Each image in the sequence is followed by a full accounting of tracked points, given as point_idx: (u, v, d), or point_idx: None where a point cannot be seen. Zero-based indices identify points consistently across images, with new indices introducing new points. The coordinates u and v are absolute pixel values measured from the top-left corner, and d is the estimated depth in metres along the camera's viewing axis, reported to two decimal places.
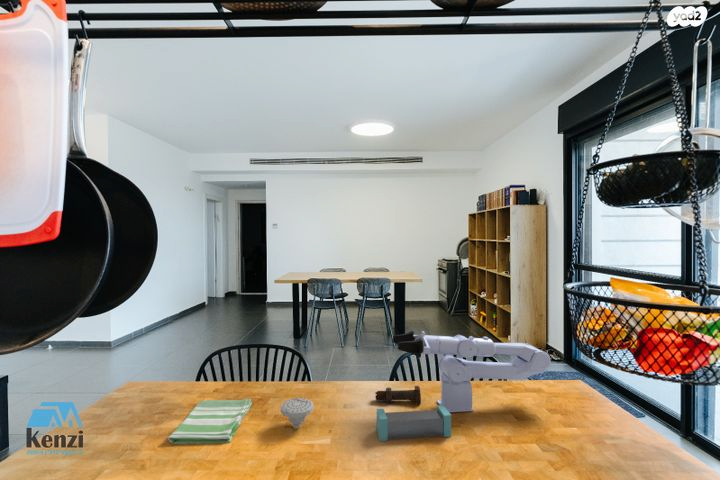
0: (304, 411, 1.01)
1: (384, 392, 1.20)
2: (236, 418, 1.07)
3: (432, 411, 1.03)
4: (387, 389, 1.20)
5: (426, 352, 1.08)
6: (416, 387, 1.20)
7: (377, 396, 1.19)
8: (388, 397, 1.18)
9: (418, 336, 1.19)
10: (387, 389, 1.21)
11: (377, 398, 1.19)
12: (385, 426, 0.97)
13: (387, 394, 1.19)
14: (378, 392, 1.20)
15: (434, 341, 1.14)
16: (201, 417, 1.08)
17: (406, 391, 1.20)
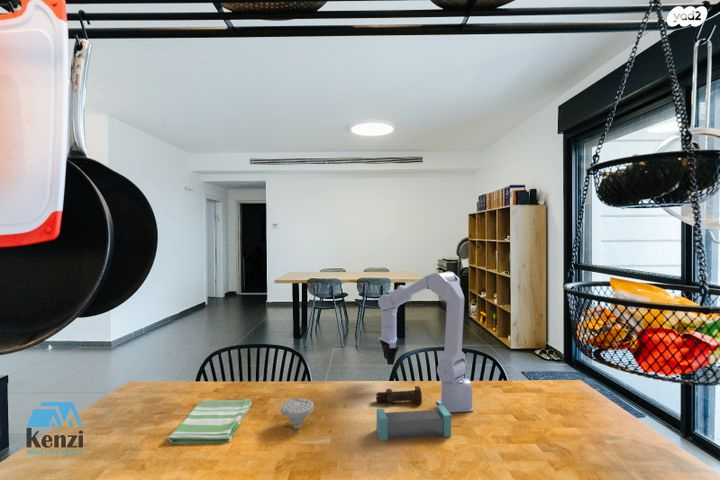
0: (304, 411, 1.01)
1: (385, 393, 1.19)
2: (236, 418, 1.06)
3: (432, 411, 1.03)
4: (388, 391, 1.19)
5: (394, 345, 1.29)
6: (417, 387, 1.20)
7: (378, 398, 1.18)
8: (389, 398, 1.18)
9: None
10: (388, 390, 1.20)
11: (378, 400, 1.18)
12: (385, 426, 0.97)
13: (388, 395, 1.18)
14: (379, 394, 1.19)
15: (385, 331, 1.33)
16: (201, 417, 1.08)
17: (407, 392, 1.20)
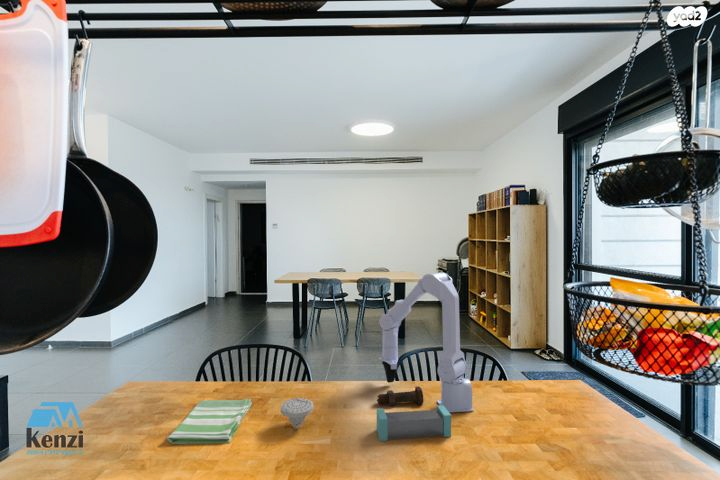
0: (304, 411, 1.01)
1: (386, 395, 1.18)
2: (236, 418, 1.06)
3: (432, 411, 1.03)
4: (389, 392, 1.18)
5: (395, 367, 1.26)
6: (417, 388, 1.20)
7: (380, 400, 1.17)
8: (391, 400, 1.16)
9: None
10: (389, 392, 1.18)
11: (380, 402, 1.17)
12: (385, 426, 0.97)
13: (390, 397, 1.17)
14: (380, 396, 1.18)
15: (386, 351, 1.31)
16: (201, 417, 1.08)
17: (408, 392, 1.19)
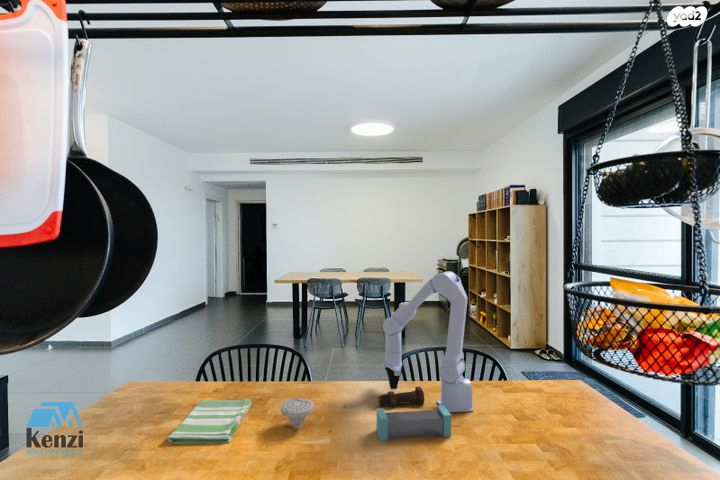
0: (304, 411, 1.01)
1: (387, 396, 1.17)
2: (236, 418, 1.06)
3: (432, 411, 1.03)
4: (390, 393, 1.17)
5: (399, 373, 1.21)
6: (418, 388, 1.20)
7: (381, 401, 1.16)
8: (393, 401, 1.16)
9: None
10: (390, 393, 1.18)
11: (381, 403, 1.16)
12: (385, 426, 0.97)
13: (392, 398, 1.16)
14: (381, 397, 1.17)
15: (390, 357, 1.25)
16: (201, 417, 1.08)
17: (409, 393, 1.19)
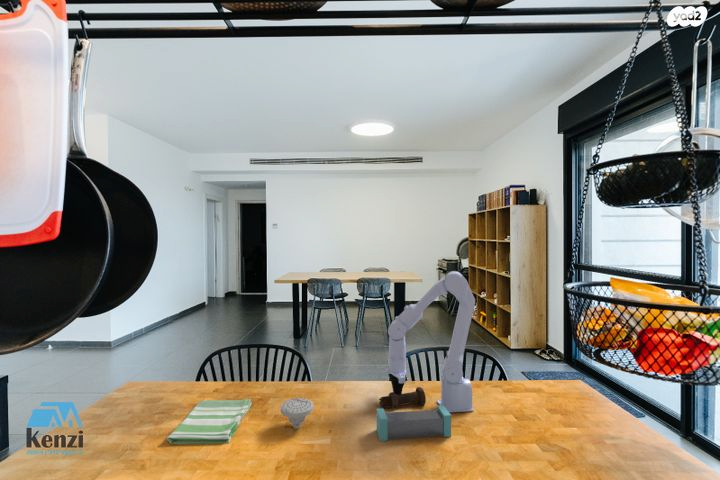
0: (304, 411, 1.01)
1: (389, 397, 1.16)
2: (235, 418, 1.06)
3: (432, 411, 1.03)
4: (392, 394, 1.16)
5: (403, 380, 1.14)
6: (419, 388, 1.19)
7: (383, 403, 1.15)
8: (395, 402, 1.15)
9: None
10: (392, 394, 1.17)
11: (383, 405, 1.15)
12: (385, 426, 0.97)
13: (393, 399, 1.15)
14: (383, 398, 1.16)
15: (394, 363, 1.19)
16: (201, 417, 1.08)
17: (410, 394, 1.18)
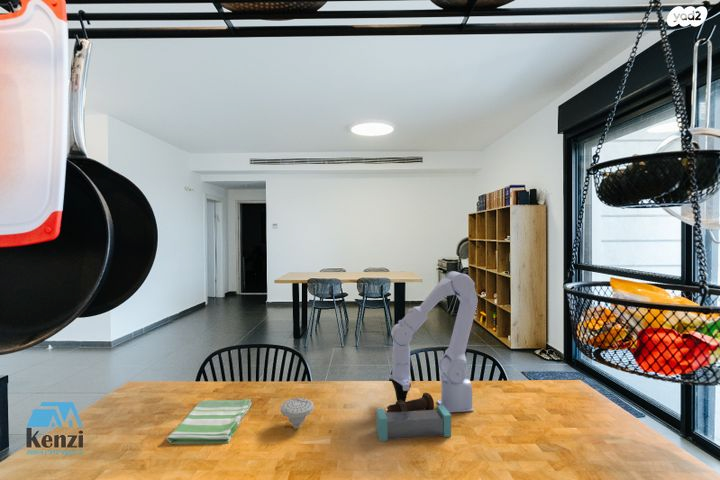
0: (304, 411, 1.01)
1: (397, 406, 1.11)
2: (235, 418, 1.06)
3: (432, 411, 1.03)
4: (400, 402, 1.11)
5: (408, 388, 1.09)
6: (426, 394, 1.15)
7: (392, 411, 1.09)
8: (404, 410, 1.09)
9: None
10: (400, 402, 1.11)
11: None
12: (385, 426, 0.97)
13: (402, 407, 1.10)
14: (391, 407, 1.10)
15: (397, 369, 1.13)
16: (201, 417, 1.08)
17: (418, 400, 1.14)
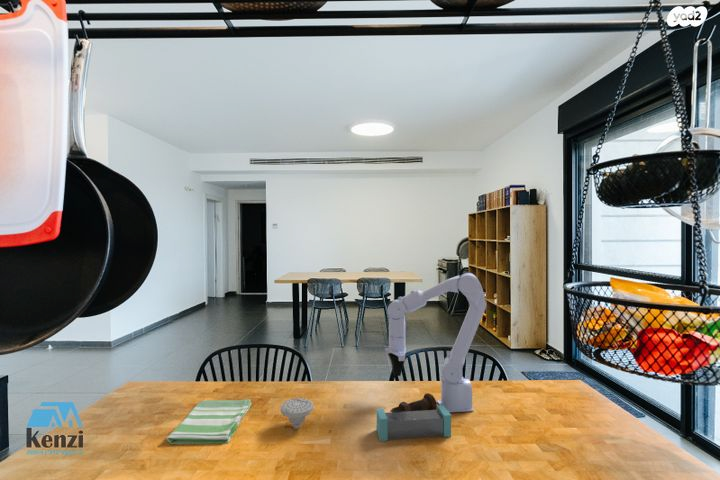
0: (304, 411, 1.01)
1: (401, 408, 1.09)
2: (235, 418, 1.06)
3: (432, 411, 1.03)
4: (404, 404, 1.10)
5: (403, 358, 1.15)
6: (428, 395, 1.15)
7: None
8: None
9: None
10: (403, 404, 1.10)
11: None
12: (385, 426, 0.97)
13: (406, 409, 1.08)
14: (396, 409, 1.08)
15: (393, 342, 1.19)
16: (200, 417, 1.08)
17: (420, 401, 1.13)
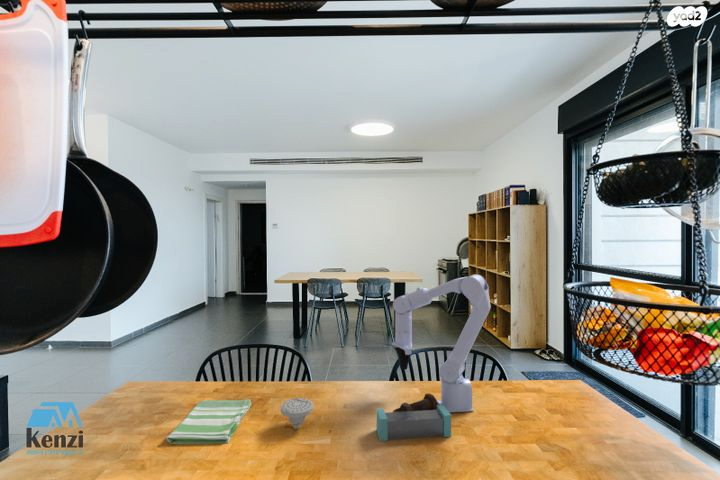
0: (304, 411, 1.01)
1: (403, 409, 1.08)
2: (235, 418, 1.06)
3: (432, 411, 1.03)
4: (406, 405, 1.09)
5: (410, 352, 1.18)
6: (429, 395, 1.15)
7: None
8: None
9: None
10: (405, 405, 1.09)
11: None
12: (385, 426, 0.97)
13: (409, 410, 1.08)
14: (398, 411, 1.07)
15: (400, 336, 1.23)
16: (200, 417, 1.08)
17: (421, 402, 1.13)
